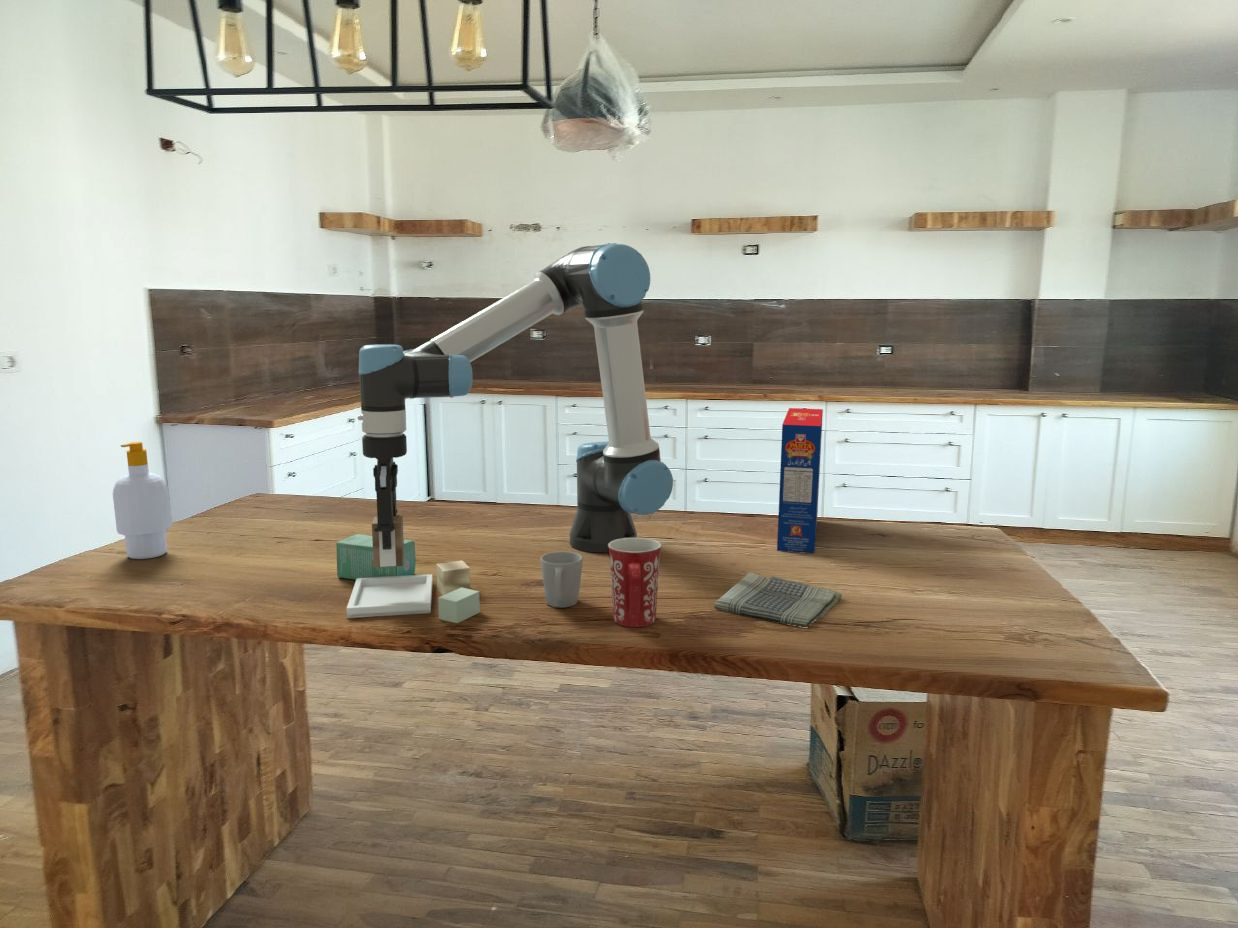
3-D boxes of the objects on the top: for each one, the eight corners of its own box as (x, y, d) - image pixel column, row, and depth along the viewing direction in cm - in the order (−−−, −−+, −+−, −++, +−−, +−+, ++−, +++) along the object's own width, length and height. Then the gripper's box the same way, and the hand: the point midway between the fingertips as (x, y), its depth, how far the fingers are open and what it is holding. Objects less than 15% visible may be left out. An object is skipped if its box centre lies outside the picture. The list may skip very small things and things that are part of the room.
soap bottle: (108, 558, 179) (95, 445, 174) (151, 545, 188) (139, 437, 183) (143, 564, 175) (131, 448, 170) (185, 551, 184) (174, 440, 180)
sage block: (462, 608, 152) (461, 587, 151) (479, 613, 150) (479, 591, 149) (439, 619, 147) (438, 597, 146) (456, 624, 145) (456, 601, 144)
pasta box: (784, 519, 213) (789, 408, 208) (817, 521, 211) (822, 409, 206) (776, 550, 187) (782, 424, 181) (814, 553, 185) (820, 426, 179)
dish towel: (808, 633, 142) (809, 615, 142) (712, 612, 152) (712, 594, 151) (843, 600, 158) (844, 583, 157) (754, 582, 167) (754, 567, 167)
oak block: (463, 585, 164) (462, 560, 163) (470, 593, 159) (469, 567, 158) (437, 589, 162) (436, 563, 161) (444, 597, 157) (443, 571, 156)
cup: (584, 595, 158) (584, 551, 156) (579, 615, 148) (579, 568, 147) (544, 594, 158) (543, 550, 157) (536, 614, 149) (535, 567, 147)
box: (397, 586, 163) (395, 548, 162) (336, 579, 167) (334, 542, 166) (417, 574, 170) (415, 538, 169) (358, 568, 174) (356, 532, 172)
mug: (609, 609, 151) (609, 536, 149) (660, 610, 151) (661, 537, 148) (604, 637, 139) (604, 558, 136) (660, 639, 138) (661, 559, 136)
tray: (432, 583, 165) (432, 574, 164) (430, 612, 149) (430, 603, 149) (357, 587, 162) (356, 578, 162) (347, 618, 147) (346, 608, 146)
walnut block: (404, 557, 157) (402, 515, 155) (402, 566, 152) (401, 522, 151) (376, 558, 156) (374, 516, 154) (373, 567, 151) (371, 523, 150)
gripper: (367, 426, 158) (372, 547, 162) (356, 442, 140) (362, 577, 145) (408, 425, 159) (413, 545, 163) (403, 441, 142) (408, 575, 146)
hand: (389, 560), depth 154 cm, fingers closed on walnut block, 5 cm apart
